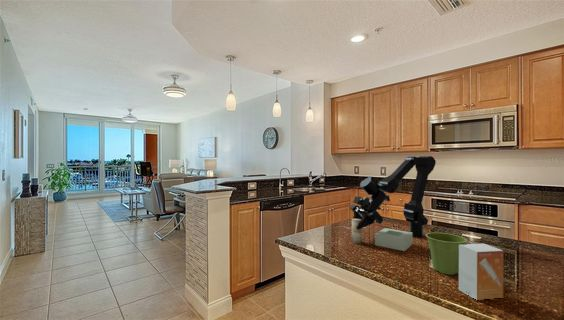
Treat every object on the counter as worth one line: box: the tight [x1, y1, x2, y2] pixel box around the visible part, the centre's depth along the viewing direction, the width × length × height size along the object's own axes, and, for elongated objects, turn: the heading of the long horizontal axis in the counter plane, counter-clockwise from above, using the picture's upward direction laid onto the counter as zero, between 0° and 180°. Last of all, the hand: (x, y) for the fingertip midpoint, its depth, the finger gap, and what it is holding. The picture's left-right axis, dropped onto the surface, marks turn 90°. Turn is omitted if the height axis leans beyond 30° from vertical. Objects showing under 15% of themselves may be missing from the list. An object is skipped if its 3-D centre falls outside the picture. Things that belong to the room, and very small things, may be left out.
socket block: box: [374, 227, 414, 252], centre depth 116 cm, size 12×12×5 cm
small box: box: [458, 243, 504, 301], centre depth 73 cm, size 8×6×13 cm
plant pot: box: [425, 232, 468, 276], centre depth 88 cm, size 12×12×11 cm
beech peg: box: [351, 218, 363, 245], centre depth 119 cm, size 4×4×10 cm
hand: (354, 227), depth 119 cm, fingers closed on beech peg, 4 cm apart
